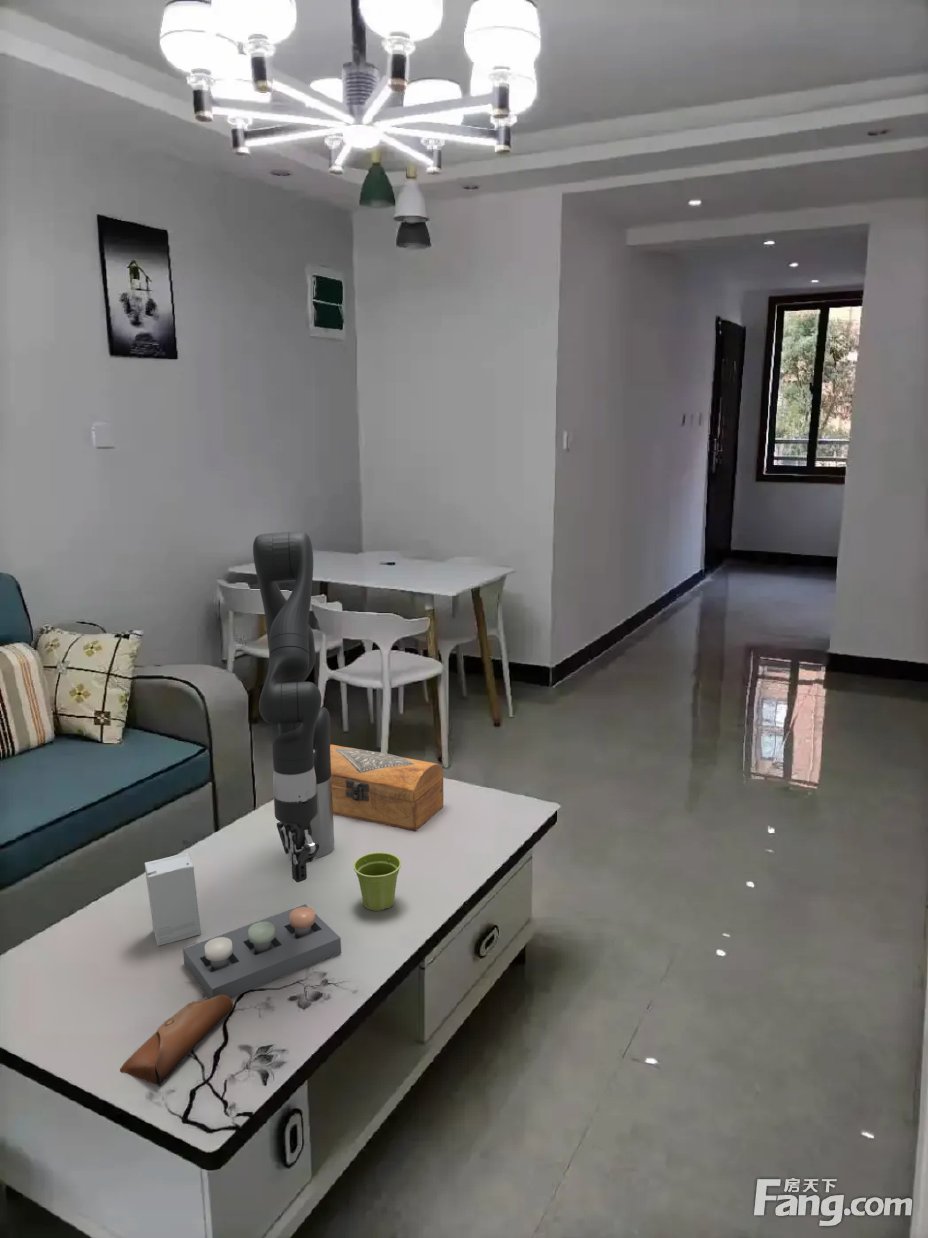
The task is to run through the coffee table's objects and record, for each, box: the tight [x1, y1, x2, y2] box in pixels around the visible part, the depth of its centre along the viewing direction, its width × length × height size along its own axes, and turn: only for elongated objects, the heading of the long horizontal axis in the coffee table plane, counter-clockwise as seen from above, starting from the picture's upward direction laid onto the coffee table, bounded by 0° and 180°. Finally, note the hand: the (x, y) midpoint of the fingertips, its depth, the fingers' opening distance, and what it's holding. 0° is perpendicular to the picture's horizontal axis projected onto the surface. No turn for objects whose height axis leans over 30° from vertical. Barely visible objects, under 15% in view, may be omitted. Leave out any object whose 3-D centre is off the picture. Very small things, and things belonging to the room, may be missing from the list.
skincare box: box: [144, 852, 202, 947], centre depth 165 cm, size 8×6×15 cm
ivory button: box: [205, 937, 233, 972], centre depth 154 cm, size 5×5×4 cm
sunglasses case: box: [119, 994, 234, 1087], centre depth 138 cm, size 18×7×7 cm
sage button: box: [248, 921, 275, 955], centre depth 158 cm, size 5×5×4 cm
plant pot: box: [352, 851, 402, 912], centre depth 176 cm, size 9×9×9 cm
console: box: [182, 903, 342, 999], centre depth 159 cm, size 14×24×3 cm, turn 127°
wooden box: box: [330, 744, 444, 832], centre depth 216 cm, size 30×16×14 cm, turn 64°
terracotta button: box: [289, 906, 316, 939], centre depth 163 cm, size 5×5×4 cm
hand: (299, 879), depth 161 cm, fingers closed
